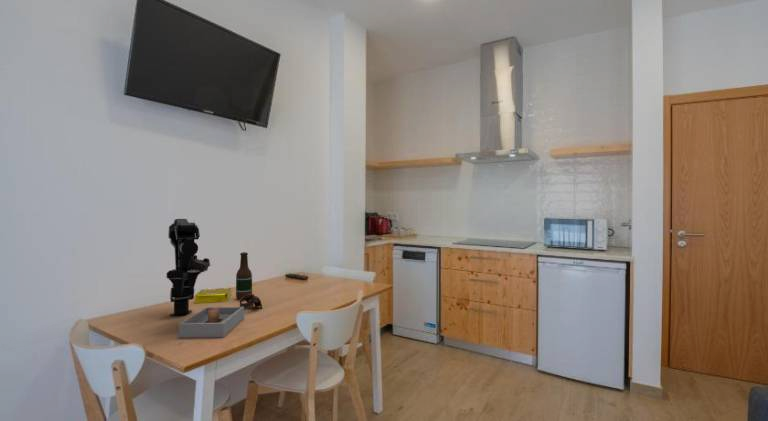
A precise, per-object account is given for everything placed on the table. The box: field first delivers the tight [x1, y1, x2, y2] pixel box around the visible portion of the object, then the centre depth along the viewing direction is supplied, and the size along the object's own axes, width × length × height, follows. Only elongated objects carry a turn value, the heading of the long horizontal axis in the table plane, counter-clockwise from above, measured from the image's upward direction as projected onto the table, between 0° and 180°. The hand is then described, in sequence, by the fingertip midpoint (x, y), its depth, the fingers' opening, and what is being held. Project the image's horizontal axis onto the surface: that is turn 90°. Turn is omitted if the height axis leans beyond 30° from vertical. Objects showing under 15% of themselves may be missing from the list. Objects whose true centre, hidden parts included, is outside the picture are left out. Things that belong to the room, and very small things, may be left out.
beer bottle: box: [235, 251, 253, 301], centre depth 184 cm, size 8×8×24 cm
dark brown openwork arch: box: [238, 293, 263, 310], centre depth 166 cm, size 12×10×8 cm
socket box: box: [177, 306, 245, 339], centre depth 140 cm, size 22×16×5 cm
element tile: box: [194, 287, 232, 304], centre depth 184 cm, size 15×15×5 cm
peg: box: [208, 308, 219, 323], centre depth 140 cm, size 4×4×7 cm
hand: (186, 291), depth 144 cm, fingers open, 9 cm apart
